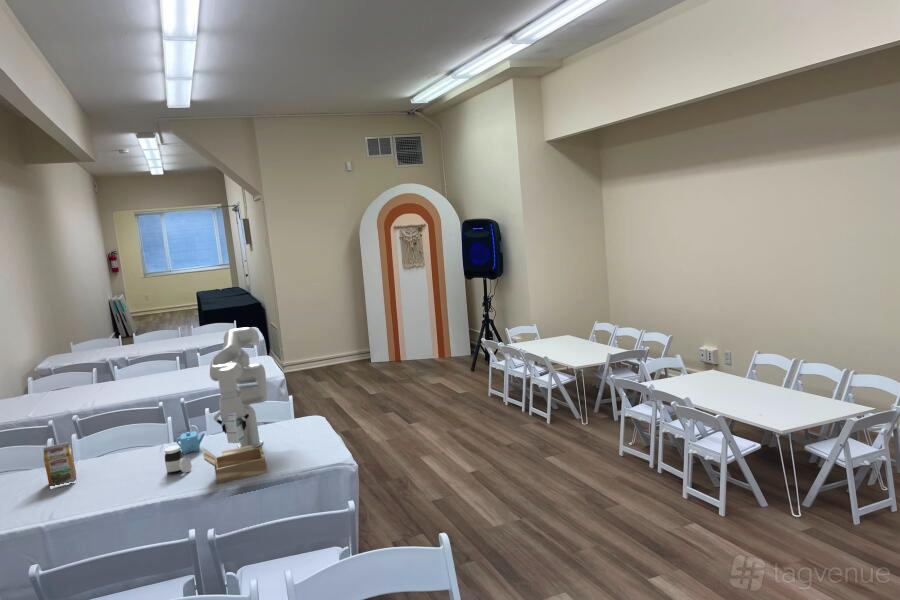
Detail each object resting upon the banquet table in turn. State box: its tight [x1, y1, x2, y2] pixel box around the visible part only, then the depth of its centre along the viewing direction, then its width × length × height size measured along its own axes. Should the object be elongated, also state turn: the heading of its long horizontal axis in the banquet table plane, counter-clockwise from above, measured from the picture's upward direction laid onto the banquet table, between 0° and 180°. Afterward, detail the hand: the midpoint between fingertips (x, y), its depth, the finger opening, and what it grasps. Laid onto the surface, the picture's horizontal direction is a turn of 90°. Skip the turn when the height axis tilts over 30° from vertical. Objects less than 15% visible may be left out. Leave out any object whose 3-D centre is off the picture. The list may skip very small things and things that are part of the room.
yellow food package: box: [42, 442, 77, 488], centre depth 309 cm, size 11×11×19 cm
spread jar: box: [164, 444, 193, 475], centre depth 310 cm, size 12×11×12 cm
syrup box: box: [224, 412, 245, 444], centre depth 299 cm, size 6×6×14 cm
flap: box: [203, 448, 217, 468], centre depth 297 cm, size 13×7×1 cm
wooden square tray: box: [214, 445, 268, 485], centre depth 305 cm, size 22×22×7 cm
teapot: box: [175, 430, 206, 455], centre depth 336 cm, size 18×14×10 cm
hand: (234, 430), depth 300 cm, fingers closed on syrup box, 7 cm apart
